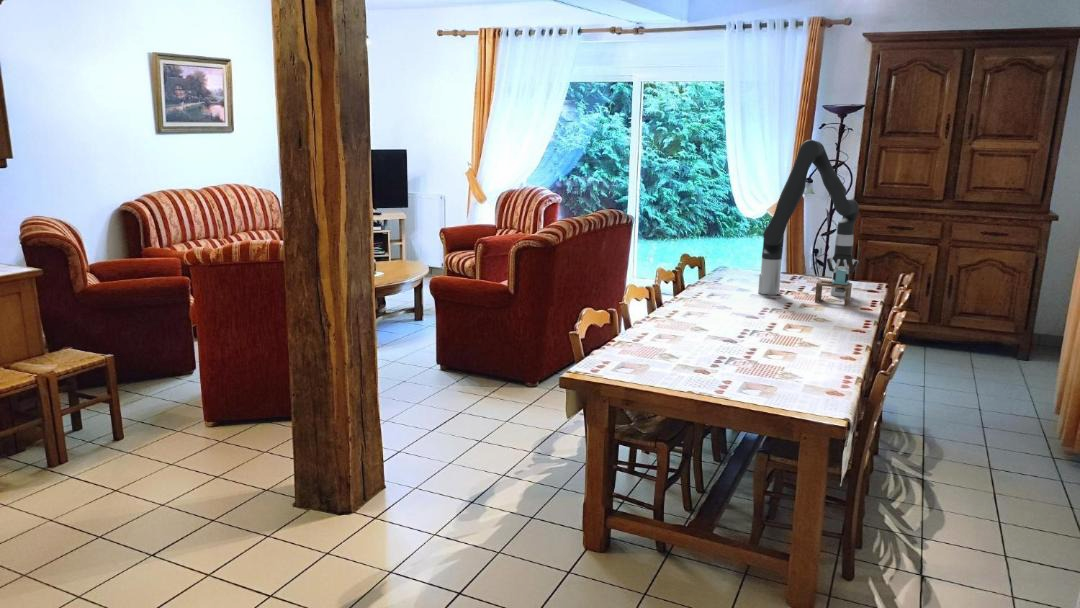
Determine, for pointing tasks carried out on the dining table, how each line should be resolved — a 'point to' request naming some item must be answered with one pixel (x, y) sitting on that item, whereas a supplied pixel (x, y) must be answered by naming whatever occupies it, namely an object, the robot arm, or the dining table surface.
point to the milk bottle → (835, 287)
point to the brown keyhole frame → (829, 284)
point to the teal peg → (840, 280)
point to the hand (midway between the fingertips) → (840, 281)
